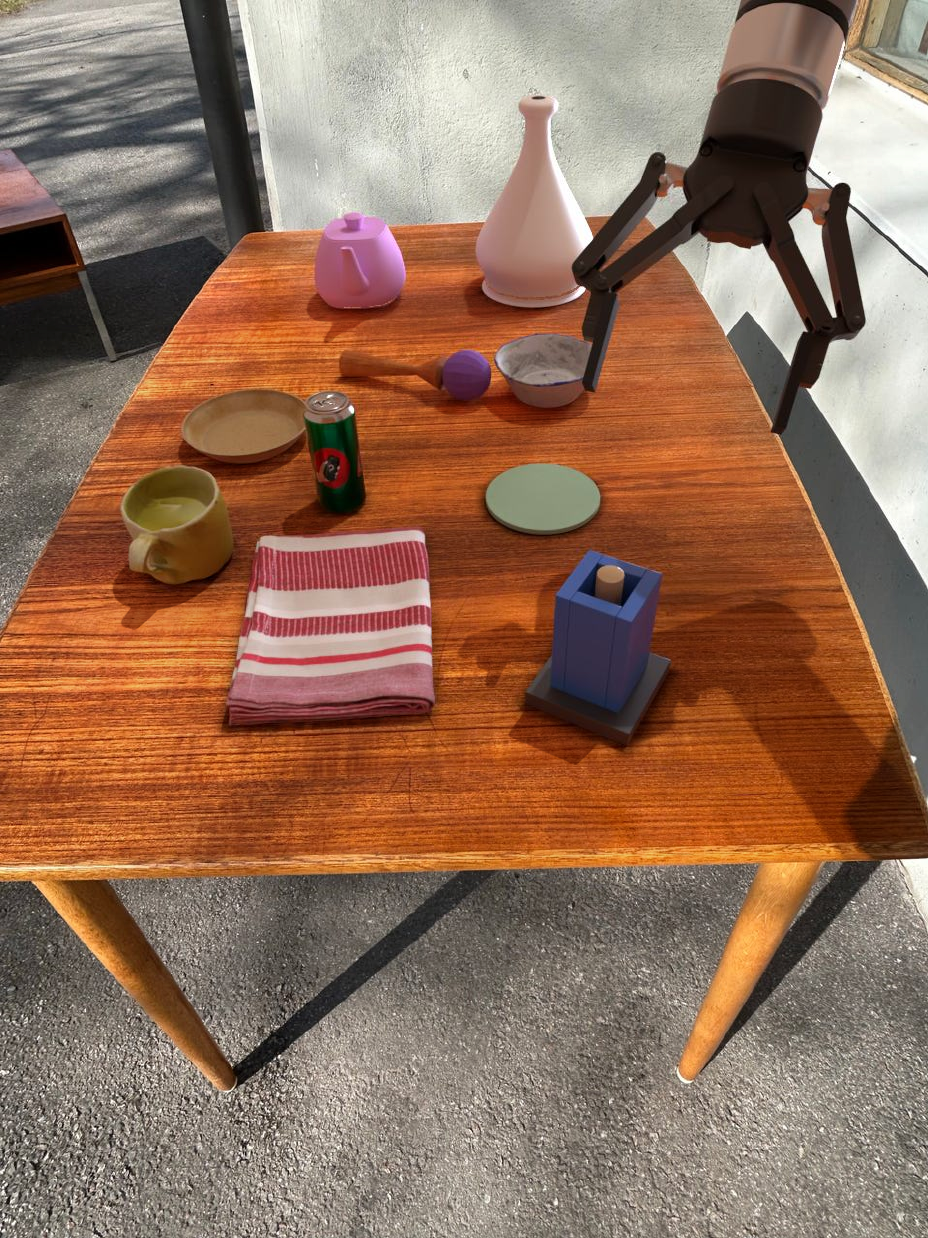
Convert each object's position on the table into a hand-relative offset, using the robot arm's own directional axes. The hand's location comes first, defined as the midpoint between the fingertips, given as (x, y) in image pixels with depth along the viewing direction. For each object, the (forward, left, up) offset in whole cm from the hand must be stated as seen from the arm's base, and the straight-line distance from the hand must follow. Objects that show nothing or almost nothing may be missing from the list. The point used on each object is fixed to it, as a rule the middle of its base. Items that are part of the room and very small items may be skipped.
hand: (680, 409), depth 62 cm
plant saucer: (+50, -17, -22) cm, 58 cm away
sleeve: (+2, +8, -20) cm, 22 cm away
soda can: (+34, -9, -22) cm, 42 cm away
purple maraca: (+36, -34, -22) cm, 54 cm away
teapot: (+54, -56, -22) cm, 81 cm away
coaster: (+14, -16, -22) cm, 31 cm away
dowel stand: (+2, +8, -22) cm, 23 cm away
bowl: (+20, -38, -22) cm, 48 cm away
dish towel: (+26, +8, -22) cm, 35 cm away
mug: (+44, +6, -22) cm, 50 cm away
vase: (+31, -68, -22) cm, 78 cm away
